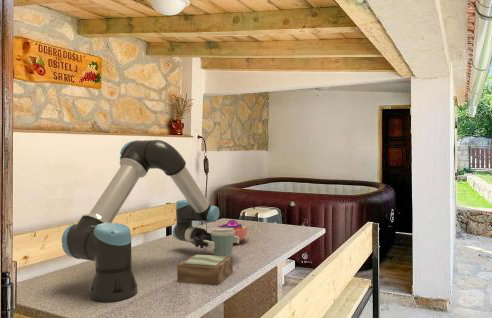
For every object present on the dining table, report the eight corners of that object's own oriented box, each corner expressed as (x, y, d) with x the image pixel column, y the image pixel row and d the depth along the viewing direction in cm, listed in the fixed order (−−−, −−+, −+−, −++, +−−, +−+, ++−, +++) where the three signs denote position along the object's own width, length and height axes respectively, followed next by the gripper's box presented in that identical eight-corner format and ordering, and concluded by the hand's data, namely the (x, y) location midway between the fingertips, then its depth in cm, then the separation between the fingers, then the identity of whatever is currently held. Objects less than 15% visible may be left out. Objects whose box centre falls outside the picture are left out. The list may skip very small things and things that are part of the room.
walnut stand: (218, 284, 144) (217, 267, 143) (177, 281, 148) (177, 264, 148) (232, 271, 159) (232, 255, 159) (195, 269, 164) (195, 253, 163)
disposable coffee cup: (207, 261, 175) (207, 226, 174) (231, 258, 179) (230, 224, 178) (214, 267, 165) (213, 231, 164) (239, 264, 169) (238, 228, 168)
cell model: (210, 246, 202) (209, 224, 202) (222, 237, 221) (221, 217, 221) (242, 247, 198) (242, 224, 198) (251, 238, 217) (251, 218, 217)
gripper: (217, 239, 194) (248, 246, 179) (173, 248, 177) (202, 257, 162) (217, 223, 194) (247, 229, 179) (173, 231, 177) (202, 238, 161)
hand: (226, 242), depth 170 cm, fingers open, 13 cm apart
